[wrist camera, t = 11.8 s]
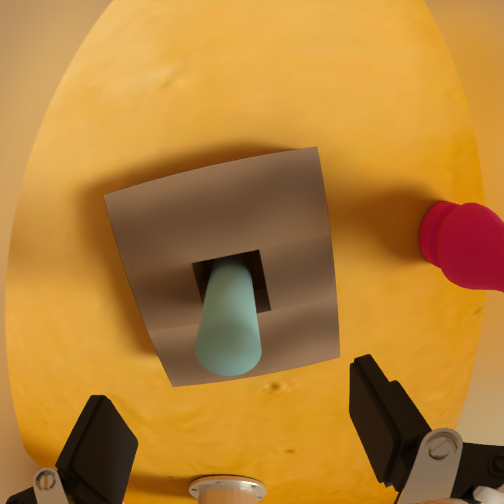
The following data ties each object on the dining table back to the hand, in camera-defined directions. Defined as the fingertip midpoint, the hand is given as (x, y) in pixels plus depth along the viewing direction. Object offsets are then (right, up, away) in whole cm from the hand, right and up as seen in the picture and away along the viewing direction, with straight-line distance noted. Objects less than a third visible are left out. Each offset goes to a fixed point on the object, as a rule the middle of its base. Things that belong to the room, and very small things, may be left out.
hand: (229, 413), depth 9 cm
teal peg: (-1, +5, +14) cm, 14 cm away
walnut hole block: (-1, +5, +13) cm, 14 cm away
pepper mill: (+19, +8, +14) cm, 25 cm away
